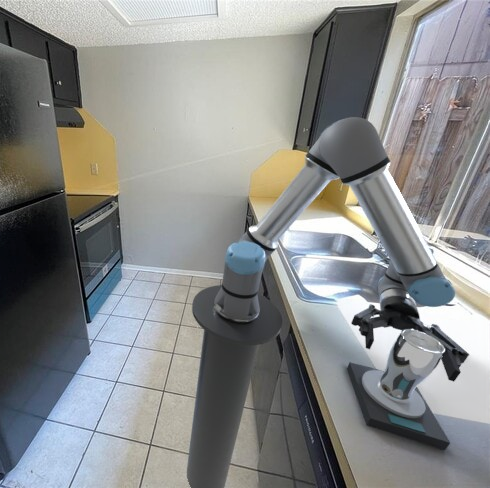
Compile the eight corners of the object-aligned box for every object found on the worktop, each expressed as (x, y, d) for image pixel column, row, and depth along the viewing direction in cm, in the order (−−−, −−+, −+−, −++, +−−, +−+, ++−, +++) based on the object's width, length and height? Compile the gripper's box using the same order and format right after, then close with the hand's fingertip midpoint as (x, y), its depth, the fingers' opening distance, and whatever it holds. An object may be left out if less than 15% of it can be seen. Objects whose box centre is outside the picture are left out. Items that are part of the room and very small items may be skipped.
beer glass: (406, 412, 53) (441, 359, 47) (368, 386, 58) (394, 336, 52) (417, 395, 57) (450, 344, 51) (380, 372, 62) (406, 323, 56)
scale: (346, 368, 67) (350, 359, 65) (407, 385, 63) (413, 375, 62) (366, 425, 54) (371, 415, 52) (444, 450, 50) (452, 440, 49)
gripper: (455, 339, 65) (486, 405, 49) (340, 302, 78) (335, 345, 62) (470, 315, 62) (509, 377, 46) (348, 281, 75) (345, 320, 59)
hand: (409, 359), depth 54 cm, fingers open, 13 cm apart
